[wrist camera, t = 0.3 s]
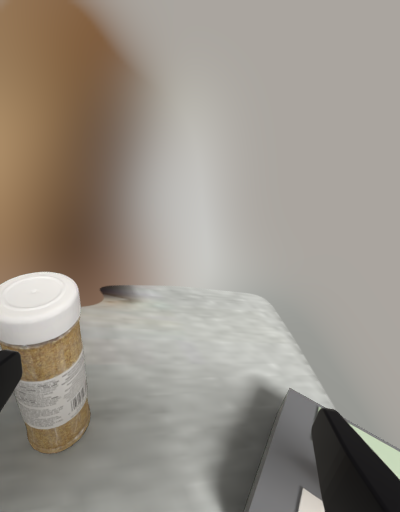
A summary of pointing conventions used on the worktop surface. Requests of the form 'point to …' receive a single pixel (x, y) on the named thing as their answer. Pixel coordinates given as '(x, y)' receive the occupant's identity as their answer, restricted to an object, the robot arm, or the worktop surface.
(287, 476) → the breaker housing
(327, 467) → the robot arm
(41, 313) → the sprinkles bottle
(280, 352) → the worktop surface
